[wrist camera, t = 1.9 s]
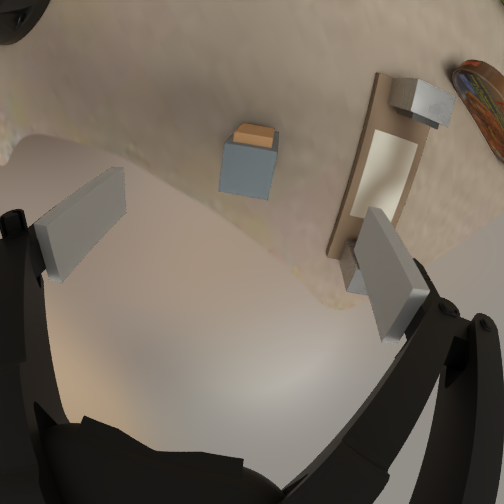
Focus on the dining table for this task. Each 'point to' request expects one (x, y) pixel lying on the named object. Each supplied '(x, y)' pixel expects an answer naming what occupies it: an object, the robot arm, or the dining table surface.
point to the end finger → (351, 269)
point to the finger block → (249, 161)
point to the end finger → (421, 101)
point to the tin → (483, 99)
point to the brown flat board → (379, 166)
